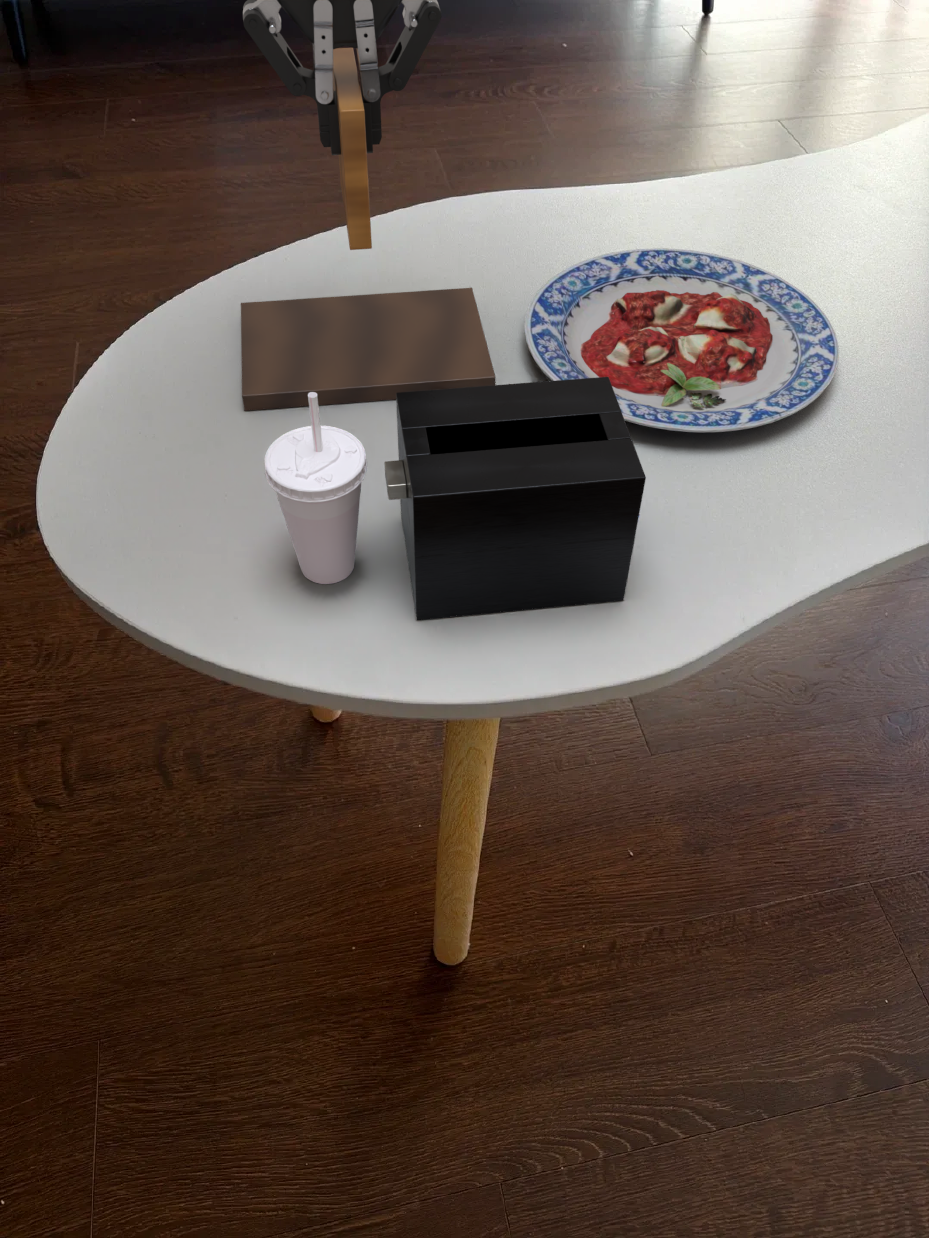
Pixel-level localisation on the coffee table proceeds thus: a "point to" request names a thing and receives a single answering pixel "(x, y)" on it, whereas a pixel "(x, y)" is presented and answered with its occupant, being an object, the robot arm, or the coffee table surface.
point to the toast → (352, 149)
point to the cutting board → (361, 347)
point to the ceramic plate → (684, 338)
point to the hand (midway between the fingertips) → (351, 148)
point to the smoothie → (319, 494)
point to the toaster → (515, 496)
